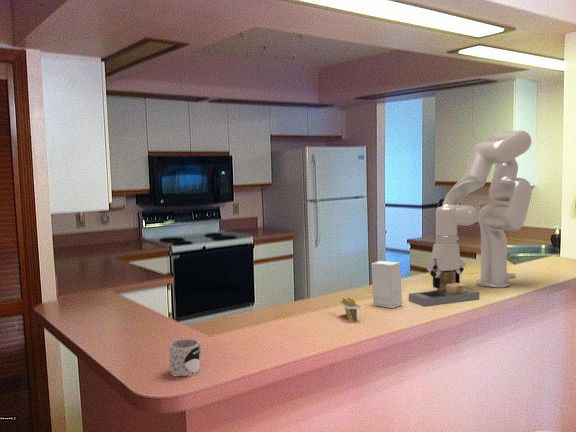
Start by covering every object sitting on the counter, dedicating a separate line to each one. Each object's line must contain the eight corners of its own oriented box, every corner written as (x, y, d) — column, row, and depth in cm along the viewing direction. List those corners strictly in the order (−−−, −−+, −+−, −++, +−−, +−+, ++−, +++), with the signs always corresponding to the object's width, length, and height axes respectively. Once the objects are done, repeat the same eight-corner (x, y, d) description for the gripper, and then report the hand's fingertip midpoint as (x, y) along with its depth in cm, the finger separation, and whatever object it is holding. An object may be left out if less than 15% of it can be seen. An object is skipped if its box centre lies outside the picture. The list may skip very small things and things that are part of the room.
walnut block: (447, 290, 199) (447, 269, 198) (455, 293, 195) (455, 271, 194) (437, 292, 197) (437, 270, 197) (445, 294, 193) (445, 272, 192)
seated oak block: (456, 296, 190) (456, 282, 189) (465, 299, 185) (465, 285, 185) (446, 298, 188) (446, 284, 187) (454, 300, 184) (454, 286, 183)
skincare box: (402, 305, 178) (402, 262, 176) (391, 309, 173) (391, 264, 172) (381, 302, 184) (381, 259, 183) (371, 305, 180) (370, 261, 178)
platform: (342, 329, 154) (341, 307, 153) (320, 314, 171) (320, 294, 170) (379, 325, 157) (379, 303, 157) (354, 310, 174) (354, 291, 174)
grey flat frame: (462, 293, 193) (462, 287, 193) (479, 299, 185) (479, 292, 185) (408, 300, 185) (408, 293, 185) (424, 306, 176) (424, 298, 176)
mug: (189, 378, 117) (188, 349, 117) (164, 375, 120) (163, 346, 119) (212, 363, 127) (211, 336, 126) (188, 360, 129) (187, 333, 129)
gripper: (458, 237, 201) (458, 282, 202) (420, 240, 195) (420, 287, 196) (472, 239, 194) (472, 286, 195) (433, 242, 188) (433, 291, 189)
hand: (446, 286), depth 196 cm, fingers open, 8 cm apart
